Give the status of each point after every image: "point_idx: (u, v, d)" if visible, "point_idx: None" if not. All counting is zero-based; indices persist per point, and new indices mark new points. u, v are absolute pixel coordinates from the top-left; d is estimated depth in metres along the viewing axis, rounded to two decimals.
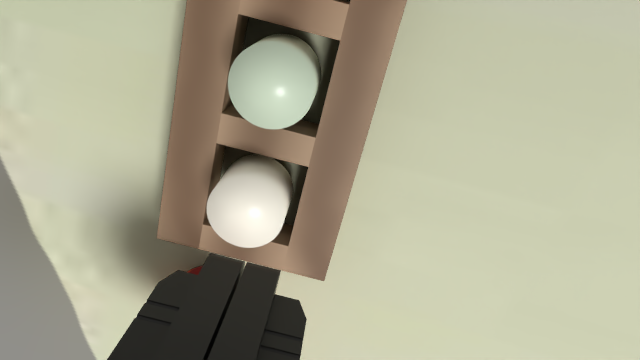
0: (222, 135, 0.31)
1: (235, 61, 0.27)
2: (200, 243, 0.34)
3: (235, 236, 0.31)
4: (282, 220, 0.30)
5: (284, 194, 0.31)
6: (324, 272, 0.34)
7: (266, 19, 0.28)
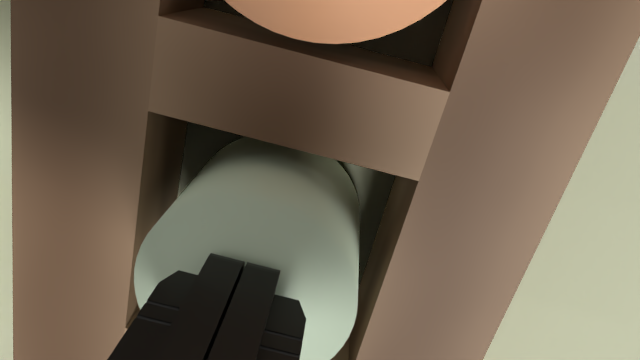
0: None
1: (149, 237, 0.10)
2: None
3: None
4: None
5: None
6: None
7: (223, 126, 0.11)
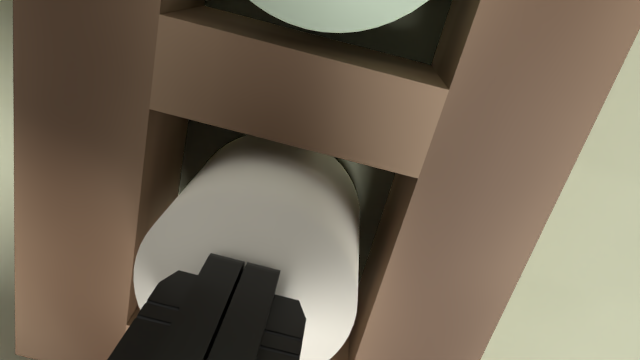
0: (165, 85, 0.10)
1: None
2: None
3: None
4: (351, 316, 0.10)
5: (353, 239, 0.11)
6: None
7: None
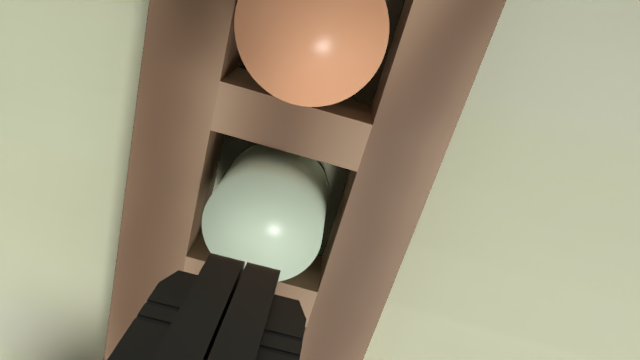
0: None
1: (212, 197, 0.19)
2: None
3: None
4: None
5: None
6: None
7: (251, 139, 0.19)
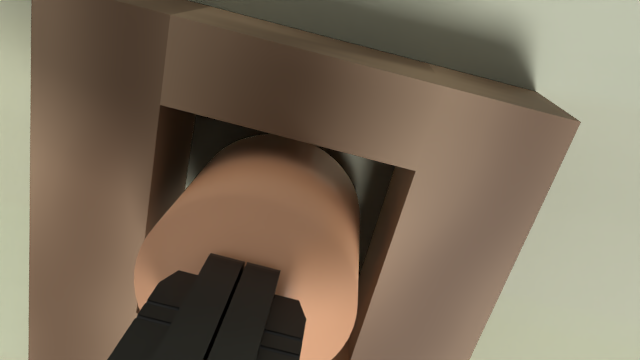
0: None
1: None
2: None
3: None
4: None
5: None
6: None
7: None
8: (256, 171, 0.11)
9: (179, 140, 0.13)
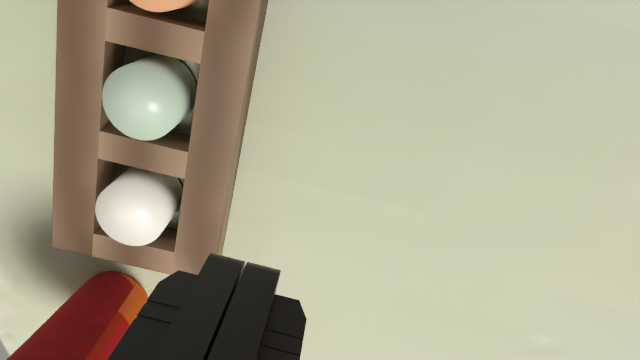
0: (102, 151, 0.34)
1: (106, 81, 0.30)
2: (93, 251, 0.37)
3: (123, 236, 0.34)
4: (163, 220, 0.34)
5: (167, 197, 0.35)
6: None
7: (131, 45, 0.31)
8: None
9: None
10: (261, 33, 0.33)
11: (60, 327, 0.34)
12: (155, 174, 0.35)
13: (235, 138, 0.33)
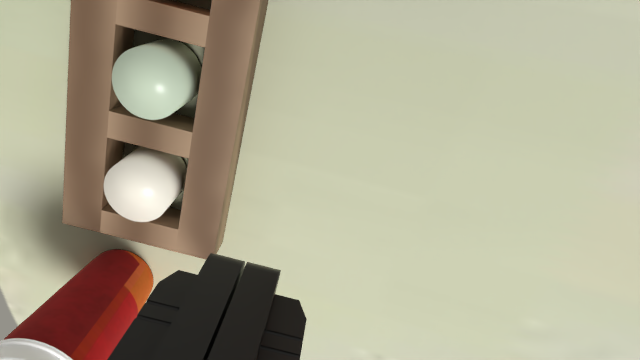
0: (111, 130, 0.35)
1: (116, 62, 0.32)
2: (101, 227, 0.38)
3: (130, 212, 0.36)
4: (168, 198, 0.35)
5: (172, 176, 0.36)
6: None
7: (140, 29, 0.32)
8: None
9: None
10: (264, 19, 0.34)
11: (69, 298, 0.35)
12: (161, 154, 0.37)
13: (237, 119, 0.34)
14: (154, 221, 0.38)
